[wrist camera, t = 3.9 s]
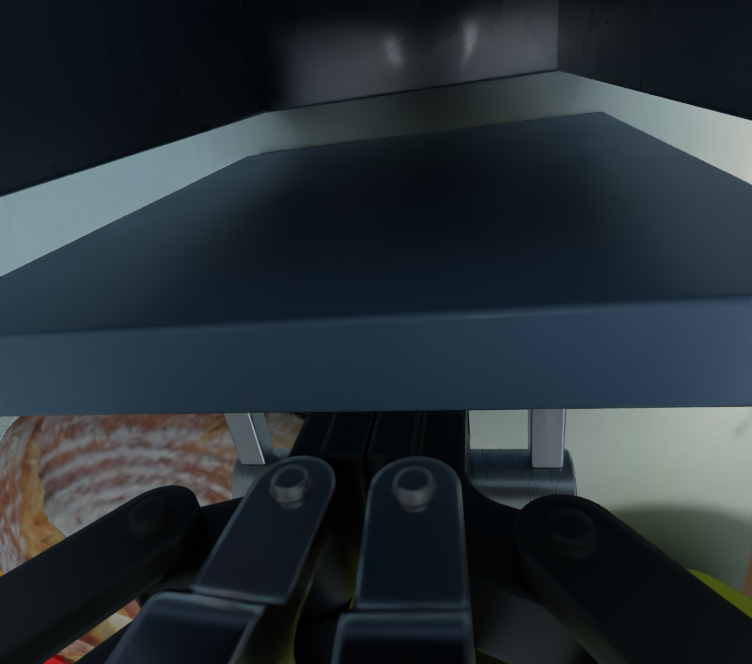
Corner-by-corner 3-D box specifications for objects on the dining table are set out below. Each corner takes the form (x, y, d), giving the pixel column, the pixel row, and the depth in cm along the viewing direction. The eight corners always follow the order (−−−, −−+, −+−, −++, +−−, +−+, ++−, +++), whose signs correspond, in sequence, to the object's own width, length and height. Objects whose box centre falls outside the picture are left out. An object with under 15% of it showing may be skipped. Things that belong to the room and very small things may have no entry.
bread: (418, 569, 29) (400, 797, 21) (122, 566, 33) (10, 752, 25) (354, 327, 21) (282, 544, 12) (-27, 366, 25) (-269, 544, 17)
